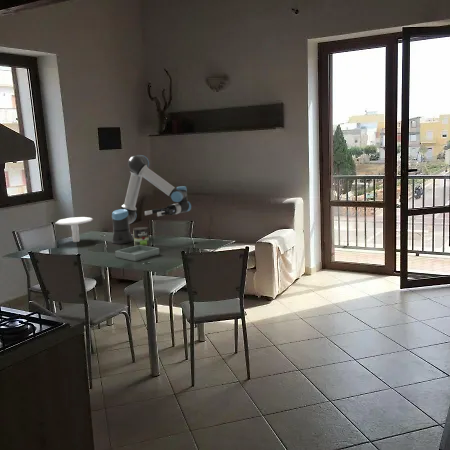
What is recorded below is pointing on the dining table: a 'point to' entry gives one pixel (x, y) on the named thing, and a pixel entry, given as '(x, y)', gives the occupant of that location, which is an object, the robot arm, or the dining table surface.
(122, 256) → the tray
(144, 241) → the coffee can
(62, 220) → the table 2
